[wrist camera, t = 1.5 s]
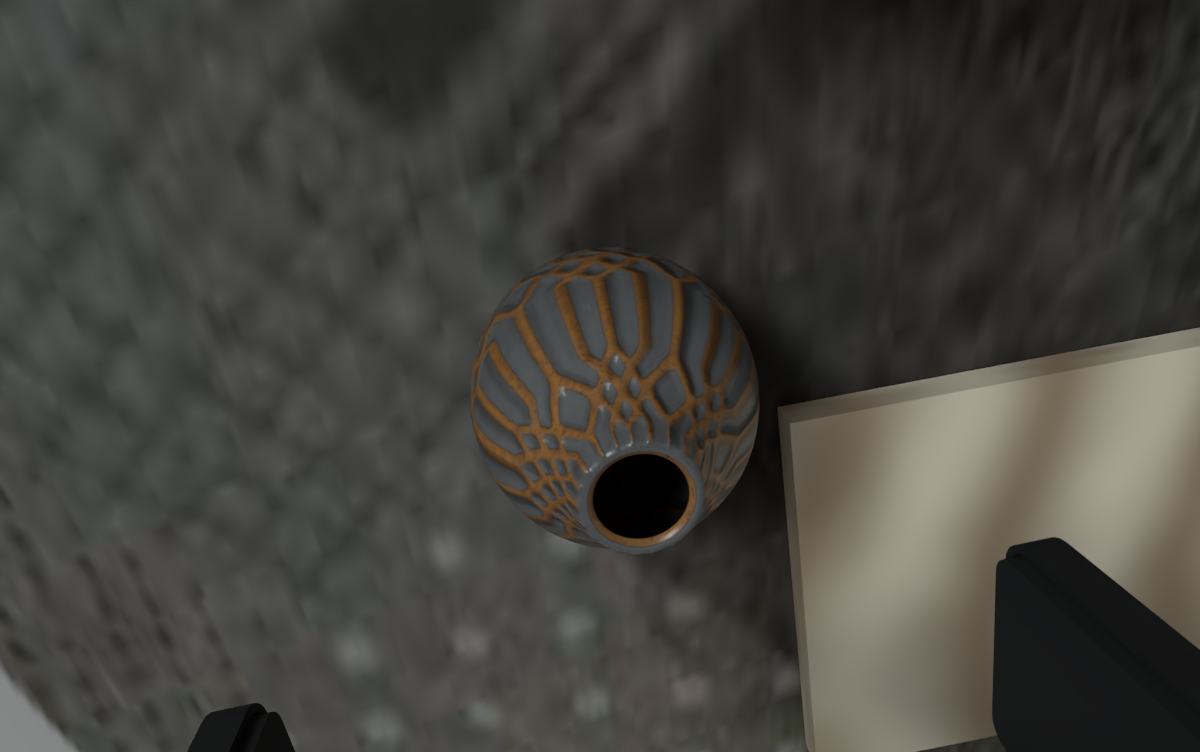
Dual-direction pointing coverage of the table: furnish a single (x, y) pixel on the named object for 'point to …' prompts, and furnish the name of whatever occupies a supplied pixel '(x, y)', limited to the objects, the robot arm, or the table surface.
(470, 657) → the table surface
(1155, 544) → the birch pad
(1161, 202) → the table surface
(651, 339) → the vase
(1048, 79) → the table surface
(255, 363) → the table surface
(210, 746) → the robot arm
